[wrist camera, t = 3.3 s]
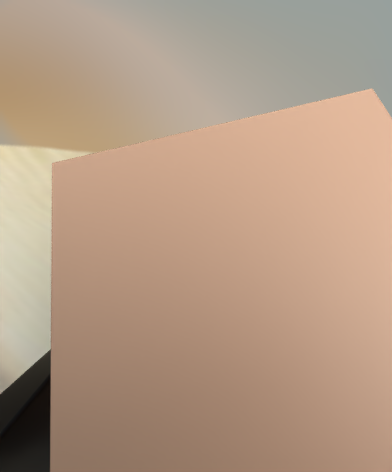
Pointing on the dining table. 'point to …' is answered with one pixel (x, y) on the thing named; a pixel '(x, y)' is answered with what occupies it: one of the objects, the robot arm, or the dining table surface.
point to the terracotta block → (227, 297)
